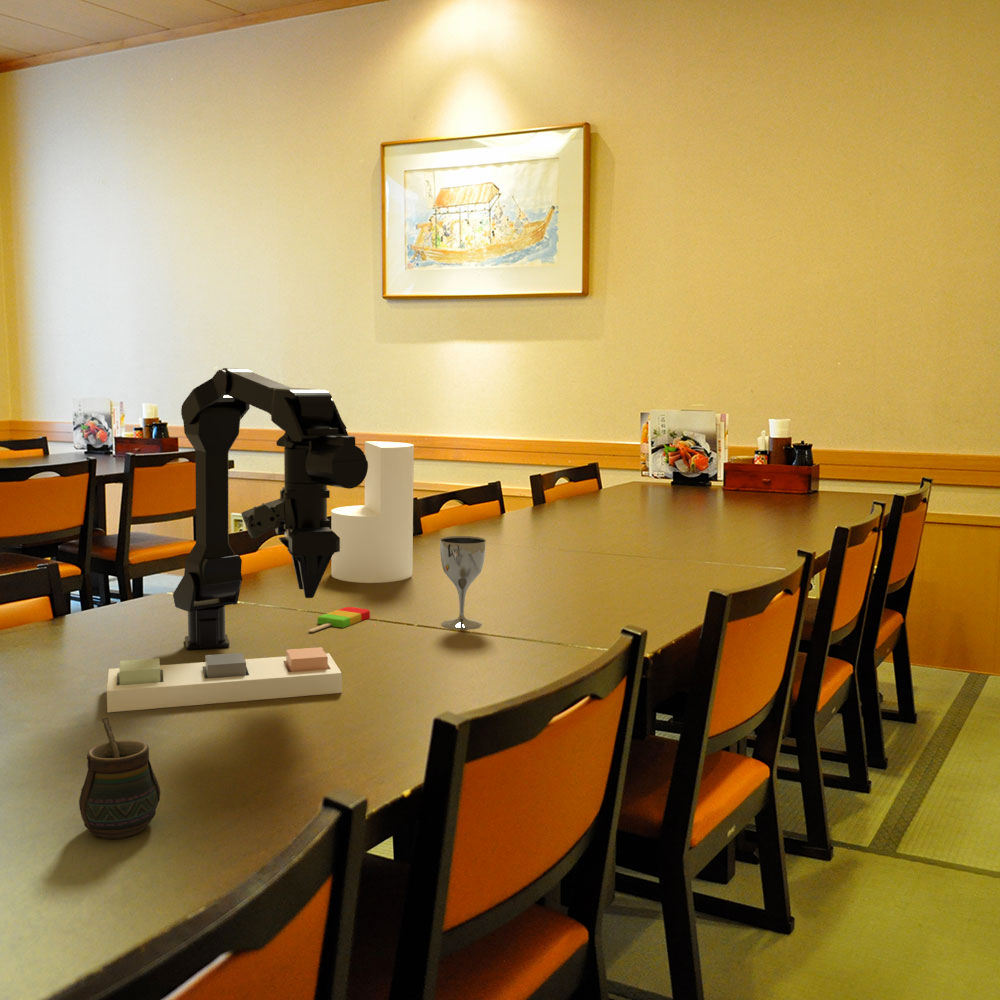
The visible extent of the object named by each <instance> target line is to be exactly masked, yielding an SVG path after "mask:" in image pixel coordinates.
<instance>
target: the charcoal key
mask: <svg viewBox="0 0 1000 1000" xmlns="http://www.w3.org/2000/svg"><path fill="white" fill-rule="evenodd" d="M204 657H205V658H204V662H205V670H206V677H207V679H209V678H222V677H235V676H246V661H245V659H246V658H245V656H244V653H243V652H232V653H220V654H219V653H217V654H205V655H204Z"/></svg>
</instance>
